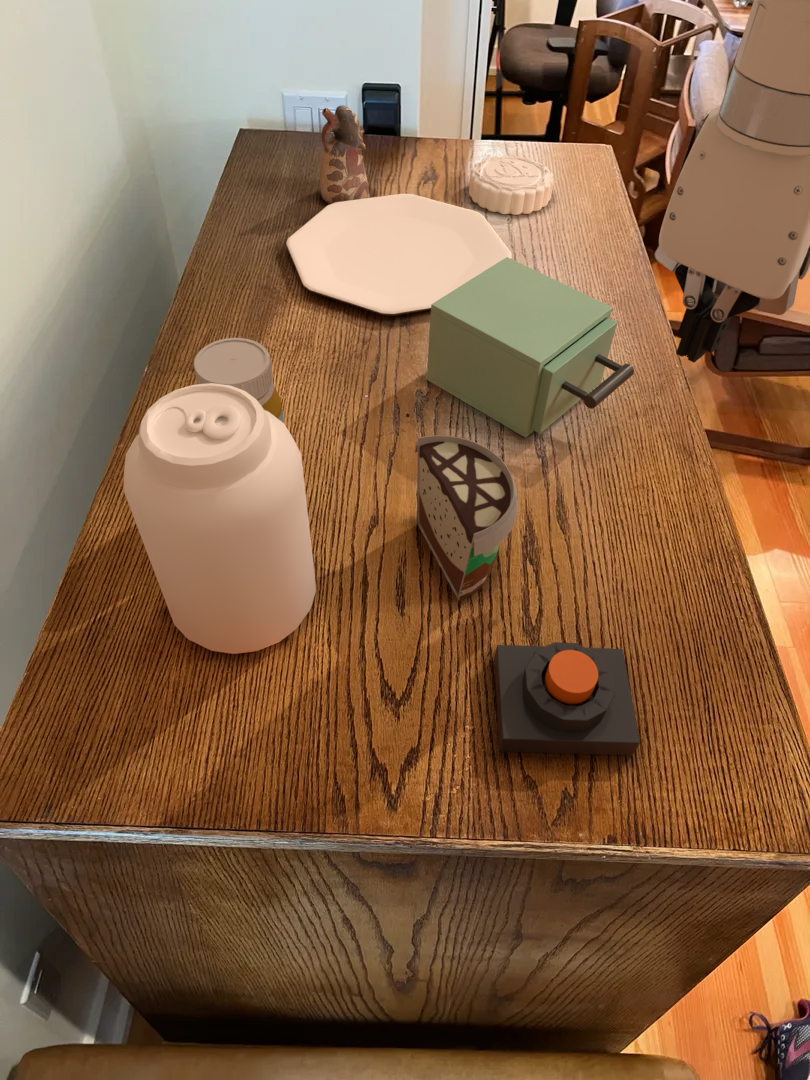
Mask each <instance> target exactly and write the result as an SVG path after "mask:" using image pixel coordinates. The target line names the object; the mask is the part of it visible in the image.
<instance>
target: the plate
mask: <svg viewBox="0 0 810 1080" xmlns="http://www.w3.org/2000/svg"><path fill="white" fill-rule="evenodd" d="M285 244H286V248H287V250H288V253H289V255H290V258H291V259H292V260H291V261H292V262H293V265H294V267H295V270H296V272H297V274H298V277H299V279H300V282H301V284H302V286H303V288H305V289H306V290H308V291H309V292H310V293H314V294H316V295H320V296H323V297H326V298H329V299H331V300H335V301H338V302H341V303H344V304H348V305H351V306H354V307H357V308H360V309H363V310H366V311H369V312H372V313H374V314H378V315H382V316H392V317H394V316H400V315H406V314H411V313H417V312H424V311H431V304H433V303H434V302H436V301H437V300H439V299H441V298H442V297H444V296H445V295H447V294H449V293H450V292H452V291H453V290H455V289H457V288H458V287H460V286H461V285H463V284H464V283H466V282H468V281H469V280H471V279H472V278H474V277H476V276H477V275H479V274H480V273H482V272H484V271H485V270H487V269H488V268H490V267H492V266H493V265H495V264H496V263H498V262H500V261H501V260H503V259H504V258H506V257H508V258H510V259H512V258H513V257H512V256H513V255H512V252H511V250H510V249H509V248H508V246H507V245H506V244H505V242H504V241H503V239H502V238H501V237H500V236H499V234H498V233H497V232H496V231H495V229H494V228H493V227H492V225H491V223H490V222H489V221H488V220H487V219H486V217H485V216H484V214H481V213H480V212H478V211H476V210H473V209H468V208H465V207H462V206H458V205H455V204H450V203H447V202H443V201H439V200H435V199H432V198H428V197H424V196H420V195H417V194H414V193H395V194H389V195H380V196H373V197H369V198H365V199H358V200H350V201H343V202H335V203H333V204H328V205H326V206H325V207H324V208H322V209H321V210H320V211H319V212H318V213H316V215H314V216H313V217H312V218H310V219H309V220H308V221H307V222H305V224H304V225H301V227H300V228H299V229H298V230H296V231H295V232H293V234H291V235H290V236H289V237H288V238H287V240H286V243H285Z"/></svg>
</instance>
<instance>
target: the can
mask: <svg viewBox="0 0 810 1080" xmlns="http://www.w3.org/2000/svg"><path fill="white" fill-rule="evenodd" d="M140 421H141V422H140V425H139V428H138V429H139V430H138V434H136V436H135V437H134V439H133V440H132V442H131V444H130V446H129V448H128V449H127V452H126V453H125V457H124V468H123V486H122V487H123V493H124V496H125V498H126V501H127V503H128V507H129V509H130V512H131V514H132V516H133V520H134V522H135V525H136V528H137V530H138V533H139V535H140V539H141V541H142V544H143V546H144V549H145V551H146V555H147V557H148V559H149V562H150V565H151V567H152V570H153V572H154V575H155V578H156V580H157V583H158V586H159V588H160V591H161V594H162V596H163V600H164V601H165V604H166V607H167V609H168V612H169V615H170V617H171V620H172V622H173V625H174V626H175V627H176V629H178V630H179V632H181V633H182V635H183V636H184V637H185V638H186V639H187V640H188V641H191V642H193V643H195V644H197V645H199V646H201V647H203V648H205V649H207V650H208V651H211V652H217V653H224V654H231V655H236V654H244V653H253V652H258V651H261V650H263V649H266V648H268V647H271V646H273V645H276V644H279V643H280V642H282V641H283V640H284V639H285V638H286V637H288V636H289V635H291V634H293V632H295V631H296V630H297V629H298V627H299V626H300V625H301V623H302V622H303V621H304V619H305V618H306V617H307V615H308V614H309V612H310V611H311V609H312V607H313V603H314V600H315V597H316V592H317V583H316V574H315V567H314V566H315V565H314V557H313V548H312V539H311V530H310V529H311V528H310V521H309V520H310V519H309V512H308V511H309V510H308V502H307V493H306V486H305V477H304V467H303V466H304V465H303V458H302V457H303V456H302V453H301V451H300V449H299V447H298V445H297V443H296V441H295V439H294V438H293V436H292V434H291V432H290V431H289V429H288V428H287V426H286V424H285V422H284V423H283V422H281V421H280V420H279V419H277V418H276V417H275V416H274V415H272V414H271V413H270V412H268V411H266V410H264V409H263V407H262V406H261V405H260V403H259V402H258V401H257V400H256V399H255V398H254V397H252V396H251V395H250V394H248V393H247V392H246V391H244V390H241V389H238V388H236V387H233V386H230V385H223V384H215V383H209V384H198V383H196V384H192V385H188V386H185V387H181V388H177V389H175V390H173V391H171V392H169V393H167V394H164V395H163V396H161V397H159V398H158V399H157V400H156V401H155V402H154V403H153V404H152V405H151V406H150V407H148V409H147V410H146V412H145V414H144V415H143V417H142V419H141V420H140Z"/></svg>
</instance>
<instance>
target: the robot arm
mask: <svg viewBox="0 0 810 1080" xmlns="http://www.w3.org/2000/svg"><path fill="white" fill-rule="evenodd" d="M654 260H656V261H657V262H658V263H659V264H660V265H662V266H663V267H664V268H665V269H667V270H668V271H669V272H671V273H674V275H675V278H676V280H677V282H678V284H679V287H680V289H681V292H682V294H683V295H682V305H683V306H684V308H685V311H684V314H683V317H682V320H681V322H680V326H679V328H678V332H677V335H676V336H677V338H679V339H680V341H679V344H678V345H677V346H678V347H677V349H676V352H675V354H676V355H677V356H679V357H681V358H683V357H686V358H687V360H688V361H689V362H691V363H696V362H697V361H699V359H702V357H703V356H704V355H706V354H707V353H710V354H712V353H714V352H715V351H716V350H717V349H718V348H719V346H720V345H721V343H722V340H723V338H724V335H725V333H726V330H727V328H728V326H729V323H730V321H731V318H733V317H735V316H738V315H740V314H743V313H747V312H749V311H752V310H755V311H757V312H762V313H766V314H772V315H776V316H782V315H784V314H786V312H788V310H790V309H791V308H792V307H793V306H794V305H795V300H796V294H797V289H798V284H799V280H803V279H804V278H805V277H806V276H807V275H808V274H809V272H810V0H753V3H752V6H751V8H750V12H749V14H748V18H747V21H746V24H745V28H744V31H743V34H742V37H741V41H740V43H739V47H738V50H737V53H736V56H735V60H734V62H733V65H732V69H731V71H730V75H729V78H728V81H727V84H726V89H725V92H724V95H723V97H722V101H721V104H718V106H717V107H715V108H713V109H712V110H711V111H710V112H709V113H708V115H707V117H706V119H705V121H704V123H703V124H702V127H701V128H700V130H699V132H698V134H697V136H696V138H695V140H694V143H693V144H692V147H691V149H690V150H689V153H688V155H687V157H686V159H685V161H684V164H683V166H682V168H681V170H680V173H679V176H678V178H677V180H676V182H675V185H674V188H673V191H672V194H671V196H670V199H669V202H668V205H667V208H666V211H665V213H664V217H663V220H662V224H661V227H660V232H659V237H658V246H657V249H656V250H655V251H654ZM718 281H719V282H720V283H723V284H725V286H724V287H723V289H722V290H721V293H720V294H719V296H718V297H716V296H715V292H716V289H717V283H718Z"/></svg>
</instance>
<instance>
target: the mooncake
mask: <svg viewBox="0 0 810 1080" xmlns="http://www.w3.org/2000/svg"><path fill="white" fill-rule="evenodd" d="M554 182H555V181H554V174H553V172H551V171H550V169H549V167H547V166H545V164H542V163H541V162H539V161H534V160H533V159H531V158H528V157H526V156H518V155H515V154H511V155H501V156H489V157H488V158H484V159H482V160H481V161H479V162H476V163H475V164H474V166H473V167H472V168H471V169H470V175H469V184H468V185H469V186H468V195H469V196H470V198H471V200H472V201H473V203H475V204H478V206H479V207H480V208H483V209H487V210H488V211H489V212H492V213H496V212H497V213H499V214H501V215H508V214H511V215H513V216H518V215H520V214H525V215H529V214H531V213H533V212H538V211H540V210H541V209H542V208H545V207H547V206H548V205H549V204H548V203H549V202H550V201H551V199H552V193H553V187H554Z"/></svg>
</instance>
